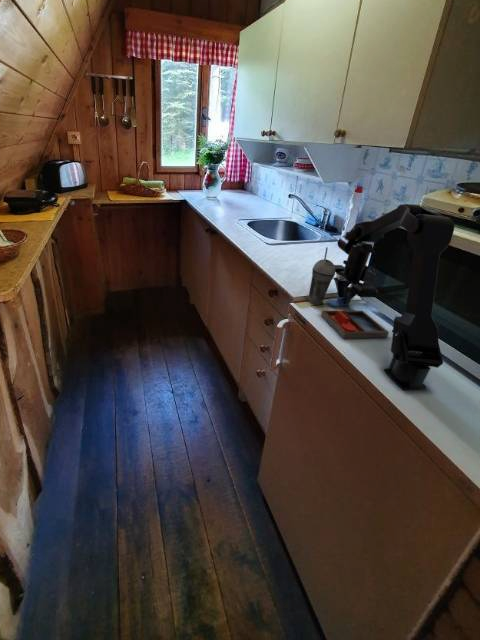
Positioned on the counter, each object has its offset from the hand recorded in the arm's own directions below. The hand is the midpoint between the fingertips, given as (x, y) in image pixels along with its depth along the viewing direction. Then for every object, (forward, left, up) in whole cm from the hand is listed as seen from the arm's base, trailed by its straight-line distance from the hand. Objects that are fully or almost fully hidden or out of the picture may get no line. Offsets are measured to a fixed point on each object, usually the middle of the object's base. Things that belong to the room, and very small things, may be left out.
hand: (343, 301), depth 106 cm
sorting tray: (-12, +5, -1) cm, 14 cm away
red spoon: (-13, +8, 0) cm, 15 cm away
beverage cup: (+3, +9, -1) cm, 9 cm away
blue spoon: (0, +1, -1) cm, 2 cm away
